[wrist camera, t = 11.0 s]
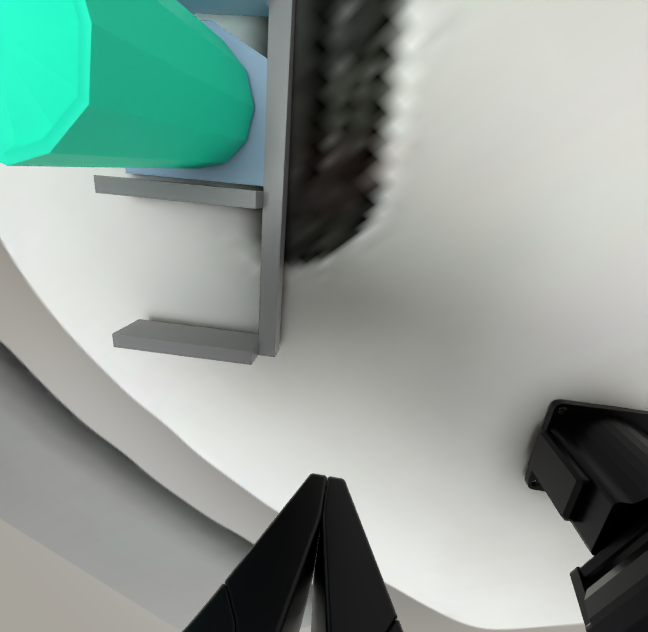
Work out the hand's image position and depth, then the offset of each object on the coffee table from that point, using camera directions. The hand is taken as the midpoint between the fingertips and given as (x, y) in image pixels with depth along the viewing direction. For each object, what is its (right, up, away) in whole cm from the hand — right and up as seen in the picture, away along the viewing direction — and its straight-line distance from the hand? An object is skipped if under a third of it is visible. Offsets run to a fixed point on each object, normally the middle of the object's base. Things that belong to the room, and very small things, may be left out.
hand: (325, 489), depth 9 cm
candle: (-6, +15, +9) cm, 18 cm away
